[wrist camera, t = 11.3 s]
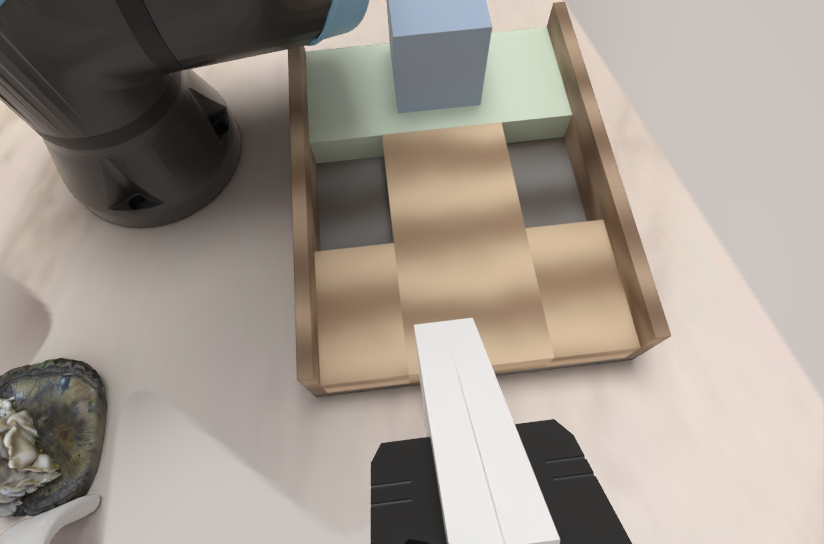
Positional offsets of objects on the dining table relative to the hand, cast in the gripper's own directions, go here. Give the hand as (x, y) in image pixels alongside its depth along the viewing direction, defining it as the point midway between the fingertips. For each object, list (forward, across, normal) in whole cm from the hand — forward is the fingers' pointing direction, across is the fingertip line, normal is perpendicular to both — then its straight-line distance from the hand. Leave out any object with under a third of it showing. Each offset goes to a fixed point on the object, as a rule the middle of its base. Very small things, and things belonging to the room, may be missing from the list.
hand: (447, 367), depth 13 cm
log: (+22, -28, -16) cm, 39 cm away
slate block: (+36, +4, +6) cm, 37 cm away
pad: (+39, +4, +3) cm, 39 cm away
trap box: (+32, +4, -4) cm, 32 cm away
